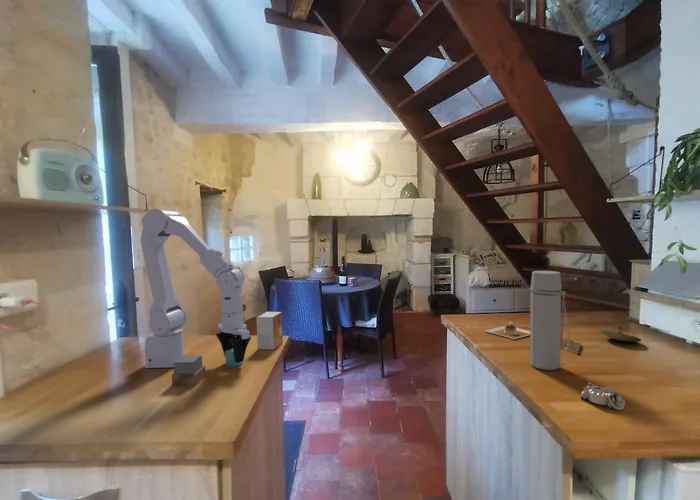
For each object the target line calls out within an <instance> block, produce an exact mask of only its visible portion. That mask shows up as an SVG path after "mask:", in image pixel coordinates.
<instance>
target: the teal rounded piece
mask: <svg viewBox="0 0 700 500" xmlns="http://www.w3.org/2000/svg"><path fill="white" fill-rule="evenodd" d="M224 357H225V366H226V367H227V368H237V367H240V366H242V365H243V364H244V361H242V362H238V363H236V362H235V358H234V351H233V348H231V349H228V350H226V351H225V355H224Z"/></svg>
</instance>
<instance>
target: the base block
mask: <svg viewBox="0 0 700 500" xmlns="http://www.w3.org/2000/svg"><path fill="white" fill-rule="evenodd" d="M206 373H207V371H206V365H202V367H201V368H200V369H199V370H198V371H197V372H196V373H195V374H174V373H173V374H171V386H172V387H179V386H180V387H181V386H183V387H184V386H186V387H187V386H198V384H200V383H201V381H202V380H203V379H204V378H205V377H206V376H207V374H206Z"/></svg>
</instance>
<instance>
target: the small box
mask: <svg viewBox="0 0 700 500" xmlns="http://www.w3.org/2000/svg"><path fill="white" fill-rule="evenodd" d="M283 337H284V336H283V312H282V311H266V312H264V313H262V314H260V315H258V316H256V339H257V341H256V342H257V350H267V351H269V350H271V351H272V350H273V351H274V350H275V349H277V348H278V347H279V346H281V345H282V344H283V343H284V341H283Z"/></svg>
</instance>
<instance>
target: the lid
mask: <svg viewBox="0 0 700 500" xmlns="http://www.w3.org/2000/svg"><path fill="white" fill-rule="evenodd" d="M623 329H624V328H623V326H622V325H620V326H619V328H618V332H614V331H610V330H600V333H601V334H602V335H605V336H606V337H609V338H610V339H613V340H615V341H618V342H625V343H627V342H628V343H635V342H639V343H640V342H641V341H642V339H641V338H640V337H637V336H633V335H628V334H624V333H623Z"/></svg>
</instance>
